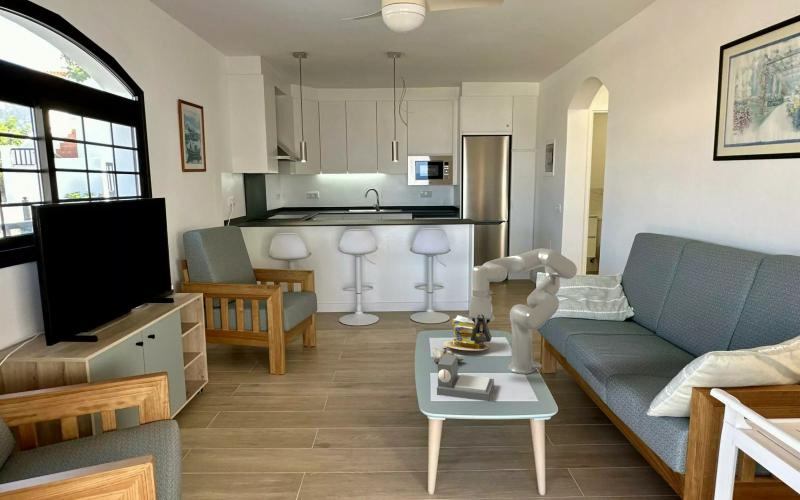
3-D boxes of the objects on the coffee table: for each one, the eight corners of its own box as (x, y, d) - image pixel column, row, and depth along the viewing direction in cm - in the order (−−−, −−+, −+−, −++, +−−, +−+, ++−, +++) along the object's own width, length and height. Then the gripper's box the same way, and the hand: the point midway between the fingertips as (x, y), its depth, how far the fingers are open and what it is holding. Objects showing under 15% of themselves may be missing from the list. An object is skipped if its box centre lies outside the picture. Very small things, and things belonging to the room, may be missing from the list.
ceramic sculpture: (438, 341, 243) (464, 348, 235) (438, 357, 245) (463, 364, 236) (427, 347, 235) (454, 355, 226) (427, 364, 236) (453, 371, 228)
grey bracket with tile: (494, 385, 209) (494, 357, 208) (488, 401, 194) (488, 370, 193) (445, 379, 217) (445, 352, 215) (436, 394, 202) (436, 365, 200)
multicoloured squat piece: (456, 338, 274) (456, 310, 272) (496, 345, 260) (496, 316, 258) (434, 351, 254) (434, 321, 252) (476, 359, 240) (476, 328, 238)
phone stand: (491, 337, 217) (491, 312, 216) (490, 342, 211) (490, 316, 210) (472, 336, 220) (472, 311, 218) (470, 340, 214) (470, 315, 212)
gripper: (499, 292, 214) (499, 331, 216) (465, 290, 219) (465, 329, 221) (497, 296, 207) (497, 336, 209) (461, 294, 212) (462, 334, 214)
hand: (481, 332), depth 215 cm, fingers closed on phone stand
